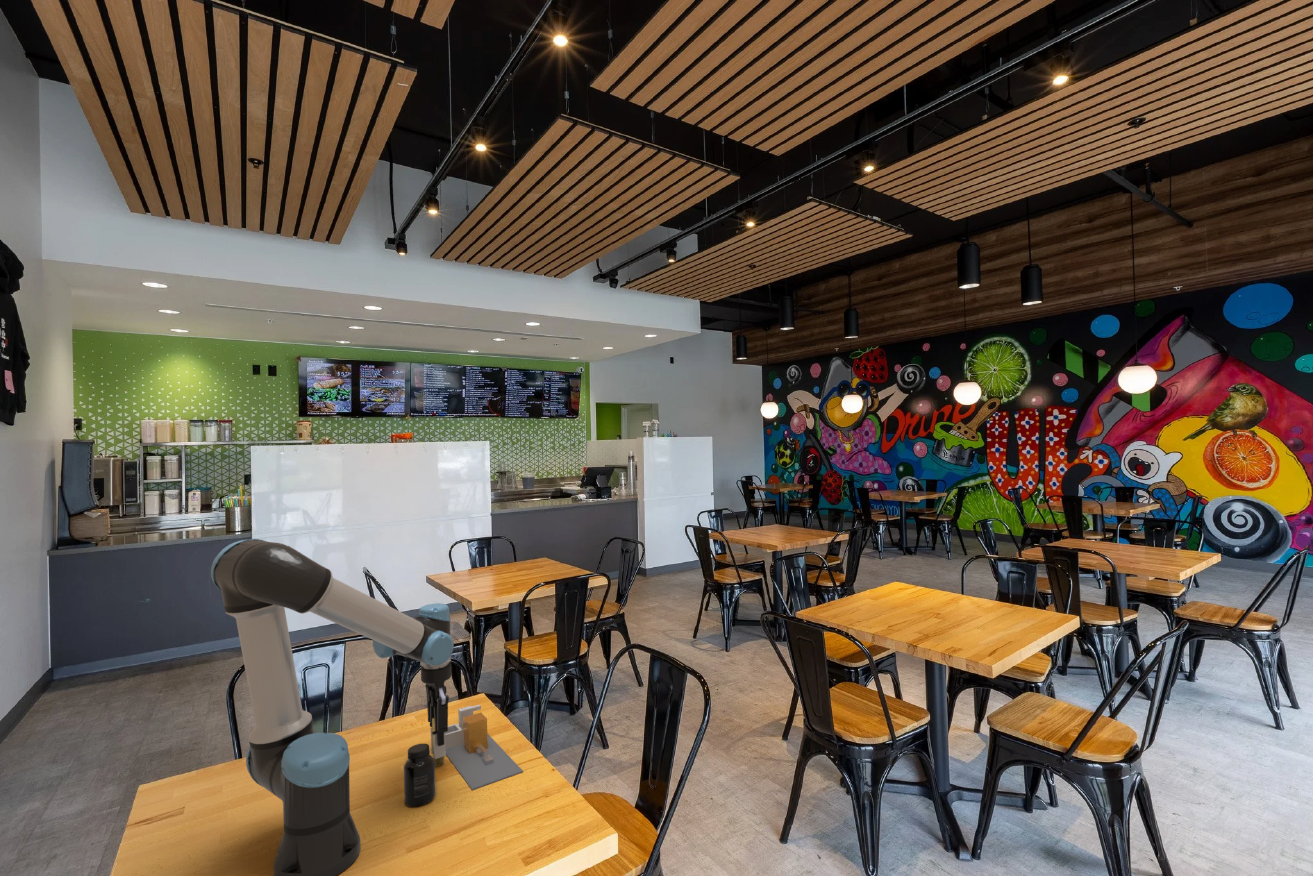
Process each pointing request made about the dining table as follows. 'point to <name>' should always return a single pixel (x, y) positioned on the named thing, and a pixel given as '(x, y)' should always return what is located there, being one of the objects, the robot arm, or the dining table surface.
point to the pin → (439, 760)
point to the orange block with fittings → (476, 736)
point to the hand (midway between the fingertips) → (438, 754)
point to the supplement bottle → (419, 776)
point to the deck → (471, 763)
